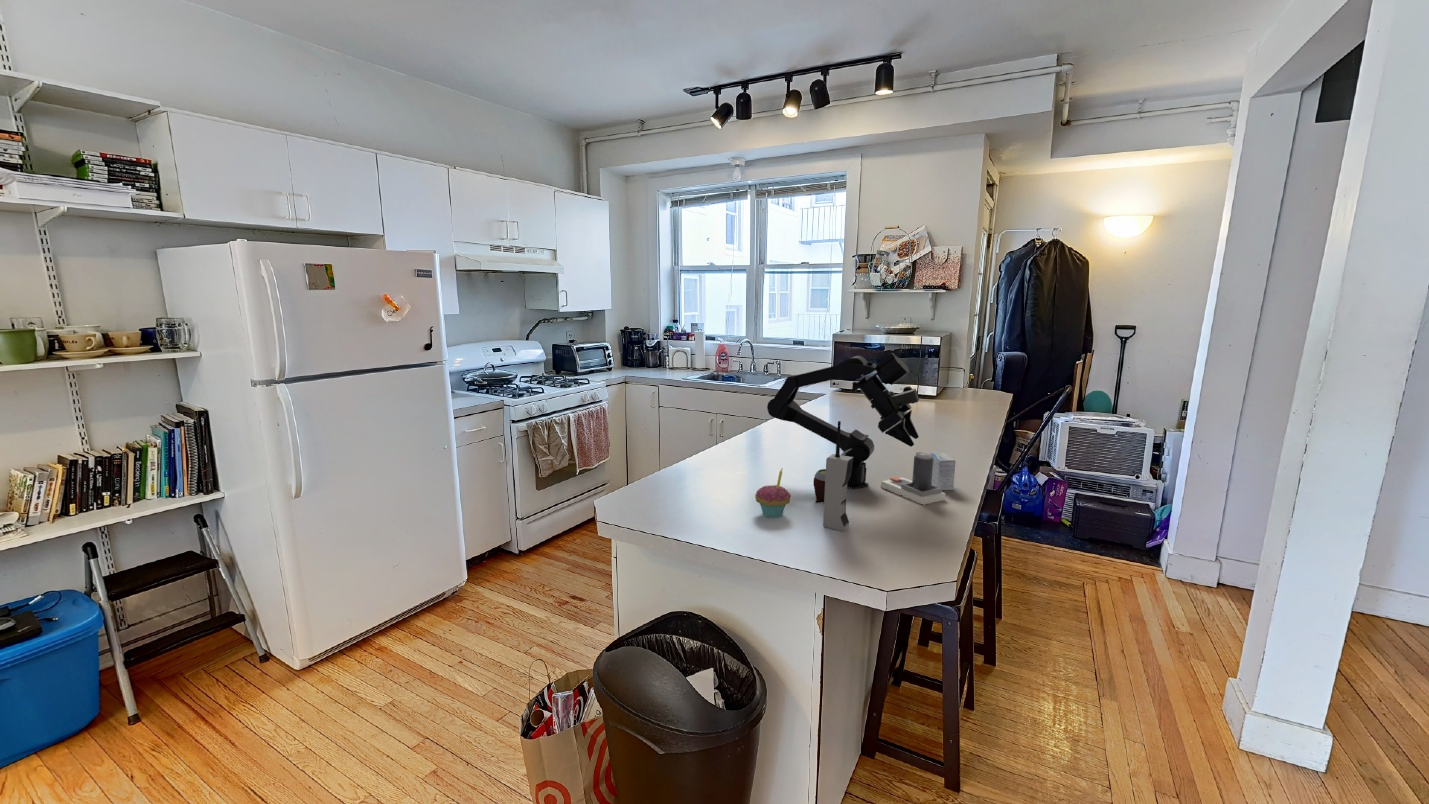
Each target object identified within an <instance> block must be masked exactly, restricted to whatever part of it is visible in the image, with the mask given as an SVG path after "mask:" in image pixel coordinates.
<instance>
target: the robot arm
mask: <svg viewBox="0 0 1429 804" xmlns="http://www.w3.org/2000/svg"><path fill="white" fill-rule="evenodd" d="M874 372H875V373H874ZM872 373H874V374H873V375H872V376H870V377H869V376H867V375H870V374H872ZM909 373H910V370H909V368H908V366H907V365H906V363H905V362H904V361H903V360H901V359H900V358H899V357H898V356H897V355H896V354H895V353H894V352H893V353H890V354H889V355H887V356H886V358H885V359H884V360H882V361H881V362H880V363H874V362H871V361H867V359H866V358H864V357H863V356H861V355H856V356H855V355H854V356H853V357H850V358H848V359H845V360H842V361H841V362H838V363H836V364H835V365H831V366H827V367H824V368H820V369H816V370H812V371H807V372H804V373H799V374H792V375H790V376H787V377H786V378H785V381H784V382H783V384H782V385H781V387H780V388H779V389H778V391H777V392H776V394H775V396H774V398H771V399H770V400H769V401H768V402H767V406H766V407H767V408H766V409H767V412H768V413H767V414H769V416H770V417H772V418H775V419H777V420H780V421H784V422H790V423H794V424H796V425H798V426H800V427H802V428H804V429H807V430H808V431H809V432H811V433H813V434H815V435H818V436H819V437H820V438H823V439H825V440H826V441H829V443H833V444H835V445H836V442H837V430H838V426H837V427H836V426H835V425H833V424H831V423H830V422H828V421H825V420H824V419H821V418H819V417H817V416H815V415H814V414H811V413H809V412H808V411H806V410H804V409H802V407H801V406H800V405H799V404H798V403H797V402H796V401H795V398H796V397H797V395H798V394H797V393H798V391H799V389H800V388H803V387H807V386H811V385H815V384H820V383H824V382H829V381H833V380H856V379H859V378H860V377H862V376H863V377H862V378H861V379H860V380H858V381H852V386H851V387H852V388H851V392H852V393H855V392H857V390H859V391H860V392H861V393H862V394H863V395H864V397H865V398H866V399H867V400H868V402H869V403H870V404H871V405H870V408H871V409H872V410H873V409H875V411H876V412H877V413H878V414H879V416H880V417H879V419H880V420H879V421H878V424H877V428H878V429H879V431H880V432H881V433H882V434H883V433H884V434H885V435H888V436H890V437H892V438H894V439H896V440H897V441H900V442H901V443H904V444H905V445H907V446H909V447H911V448H912V447H913V446H914V445H915V443H914V441H913V439H914V440H917V439H918V438H920V437H919V434H918V432H917V429H916V427H915V425H914V423H913V421H912V418H911V417H912V411H913V410H912V408H913V407H912V406H911V405H910V404H913V405H914V404H916V403H918V402H919V401H920V398H919V393H918V390H917V389H916V388H912V386H911V385H908V386H905V387H903V390H902V391H901V392H899V393H894V391H892V390H890V391H889V389H888V388H887V387H886V386H885V385H888V384H889V385H891V386H893V385H894V384H896V383H897V382H898V381H900V380H901V379H902V378H904V377H905V376H907V375H909ZM912 438H913V439H912ZM851 448H852V449H851ZM849 449H851V450H850V451H848V452H847V453H845V454H844V455H843V456H849V457H853V462H852V469H851V475H850V478H849V480H848V484H847V488H849V489H856V488H858V489H859V488H862V487H867V486H869V483H868V482H867V481H866V480H867V463H866V462H865V461H866V460H869V458H870V457H871V455H872V454H873V453H874V450H875V444H874V441H873V440H872V439H871V438H870V437H869V435H868V434H866V433H865V434H864V433H862V432H861V431H860V430H858V429H853V431H851V432H847V431H844V430H843V429H841V428H840V451H842V453H843V452H845V451H847V450H849Z"/></svg>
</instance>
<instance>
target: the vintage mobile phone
mask: <svg viewBox="0 0 1429 804" xmlns="http://www.w3.org/2000/svg"><path fill="white" fill-rule="evenodd" d="M841 423H842V422H841V421H840V420H838V421H837V428H838V430H837V442H836V444H835V454H834V453H832V454H831V455H829V456H828V457H826V461H825V469H826V476H825V496H824V502H823V516H822V518H823V520H822V521H823V522H822V526H823V528H825V529H830V530H834V531H838V532H844V531H845V530H847V528H848V527H850V520H849V518H848V515H847V498H848V487H847V484H848V480H849V478H850V475H851V469H852V462H853V457H849V456H843V455H841V454H840V451H841V448H840V429H841V425H842V424H841Z"/></svg>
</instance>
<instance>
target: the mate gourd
mask: <svg viewBox="0 0 1429 804" xmlns="http://www.w3.org/2000/svg"><path fill="white" fill-rule="evenodd" d="M851 449H852V448H851ZM851 449H849V450H847V451H845V452H843V451H842V453H841V454H840V455H844V454H845V453H847V452H848V451H850V450H851ZM825 476H826V468H822V469H819V470H817V471H816V473H815V474H814V477H813V488H814V494H815V499H816V500H815V501H814V502H815V503H816V504H822V503H823V504H824V496H825Z"/></svg>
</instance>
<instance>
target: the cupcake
mask: <svg viewBox="0 0 1429 804" xmlns="http://www.w3.org/2000/svg"><path fill="white" fill-rule="evenodd" d="M782 476H783V467H782V468H781V470H779V474H778V479H777V483H776V484H773V485H770V484H769V485H764V486H762V487H760V488H758V489H757V490H756V492H755V494H754V495H755V501H756V503H759V506H760V508H761V512H762V515H763V516H765V517H767V518H772V519H776V518H781V517H782V516H783V514H784V512H785V508H786V507H787V505H788V504H790V501H791V497H792V494H791V493H790V492H789V491H788V489H786V488H785V487H783V486H780V485H781V480H782Z"/></svg>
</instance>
